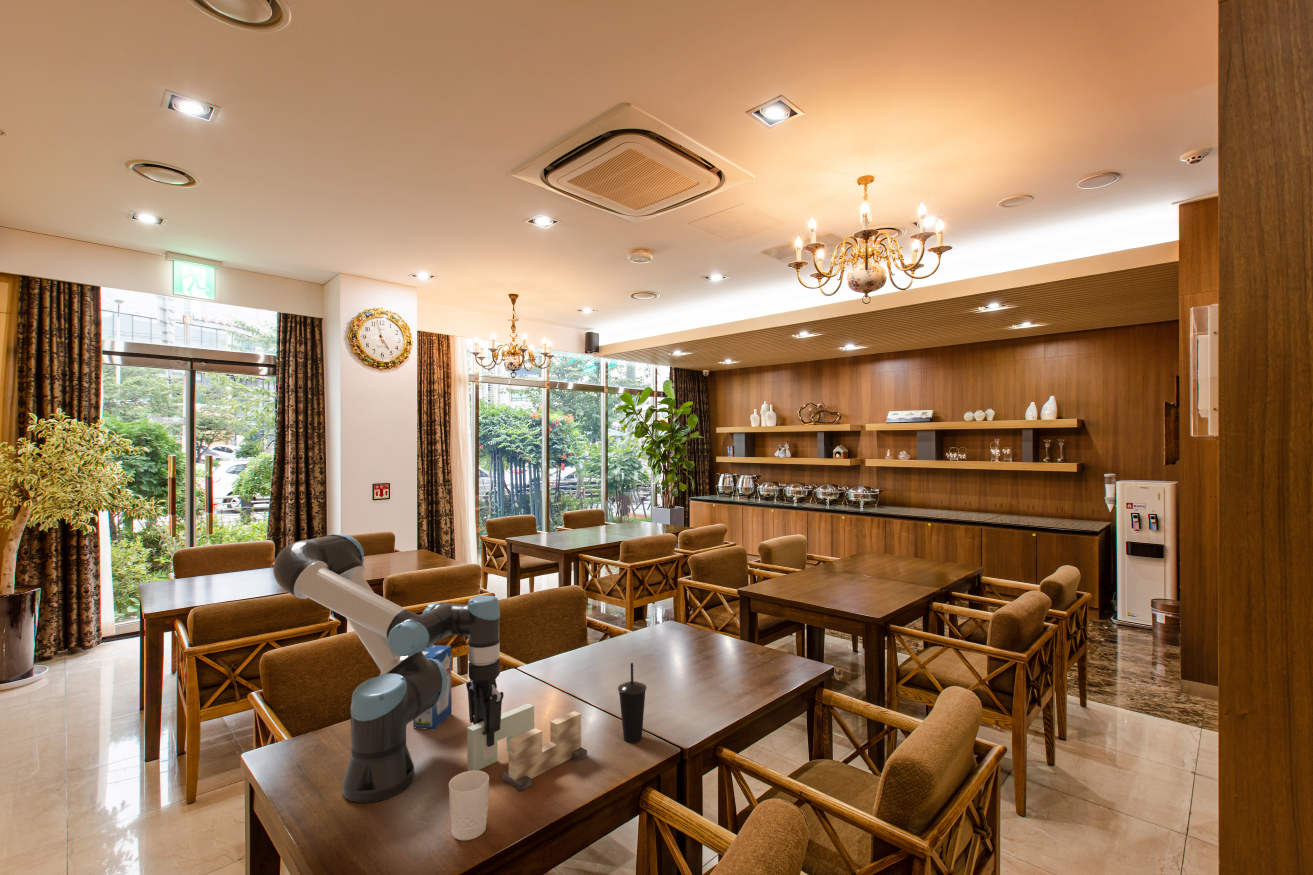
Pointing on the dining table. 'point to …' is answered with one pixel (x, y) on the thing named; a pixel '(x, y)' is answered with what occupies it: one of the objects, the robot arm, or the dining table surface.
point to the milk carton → (444, 706)
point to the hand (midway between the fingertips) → (484, 755)
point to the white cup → (468, 804)
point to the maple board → (544, 750)
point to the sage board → (498, 734)
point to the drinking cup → (632, 708)
